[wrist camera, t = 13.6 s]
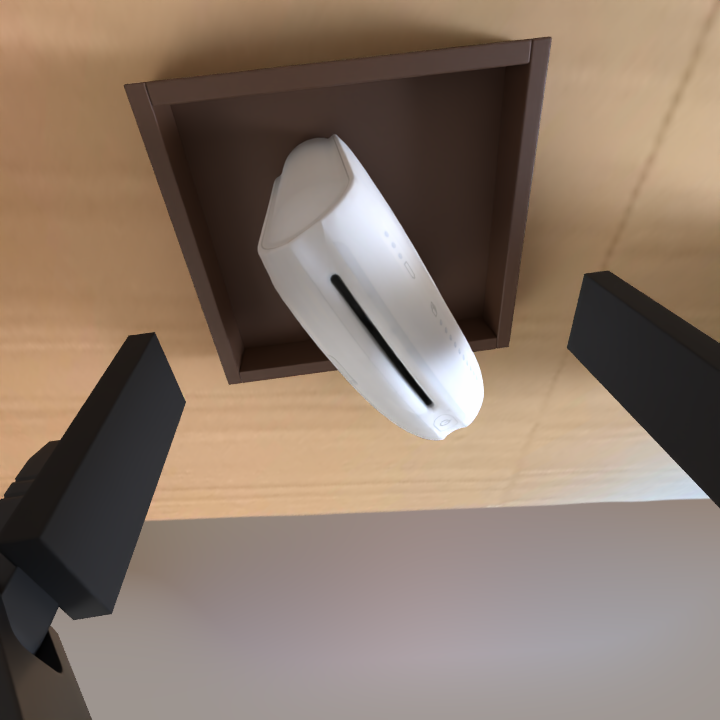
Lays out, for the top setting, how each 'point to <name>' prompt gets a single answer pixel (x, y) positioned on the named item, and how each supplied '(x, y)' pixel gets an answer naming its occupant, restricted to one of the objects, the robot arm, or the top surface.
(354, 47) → the top surface
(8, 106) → the top surface
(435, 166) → the tray
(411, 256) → the photo printer
